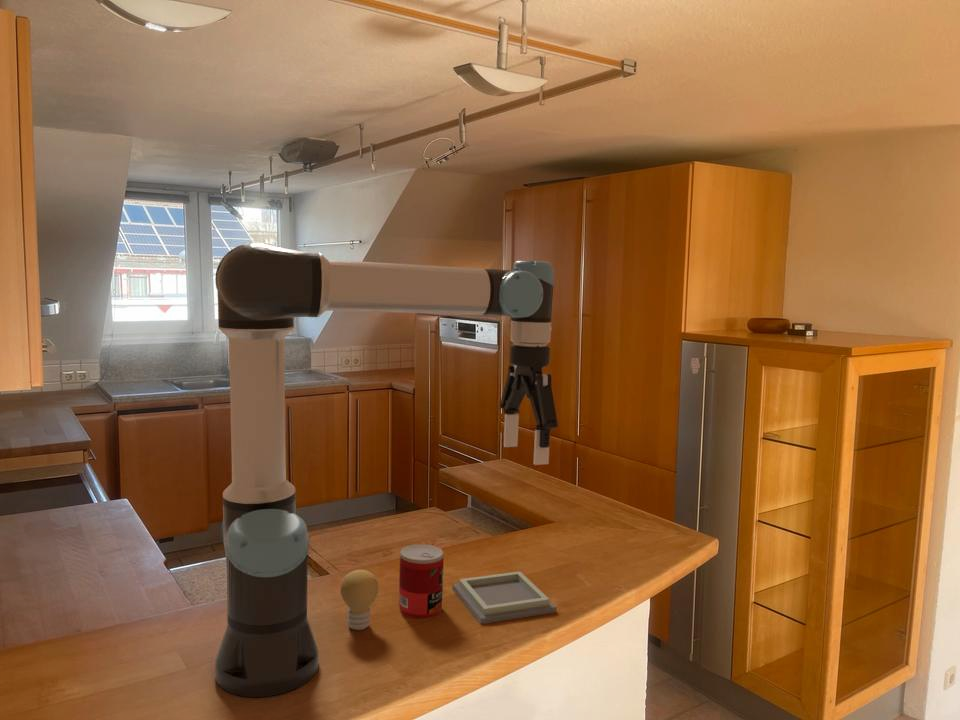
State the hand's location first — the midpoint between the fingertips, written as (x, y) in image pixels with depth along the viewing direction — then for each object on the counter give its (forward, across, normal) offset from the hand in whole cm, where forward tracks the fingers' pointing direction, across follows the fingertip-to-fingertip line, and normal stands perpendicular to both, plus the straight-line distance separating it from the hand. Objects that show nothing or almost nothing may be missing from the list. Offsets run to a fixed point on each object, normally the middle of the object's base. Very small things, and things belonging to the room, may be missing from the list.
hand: (525, 455), depth 137 cm
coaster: (+27, -2, +4) cm, 28 cm away
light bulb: (+28, -4, +32) cm, 43 cm away
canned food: (+28, -1, +20) cm, 34 cm away
